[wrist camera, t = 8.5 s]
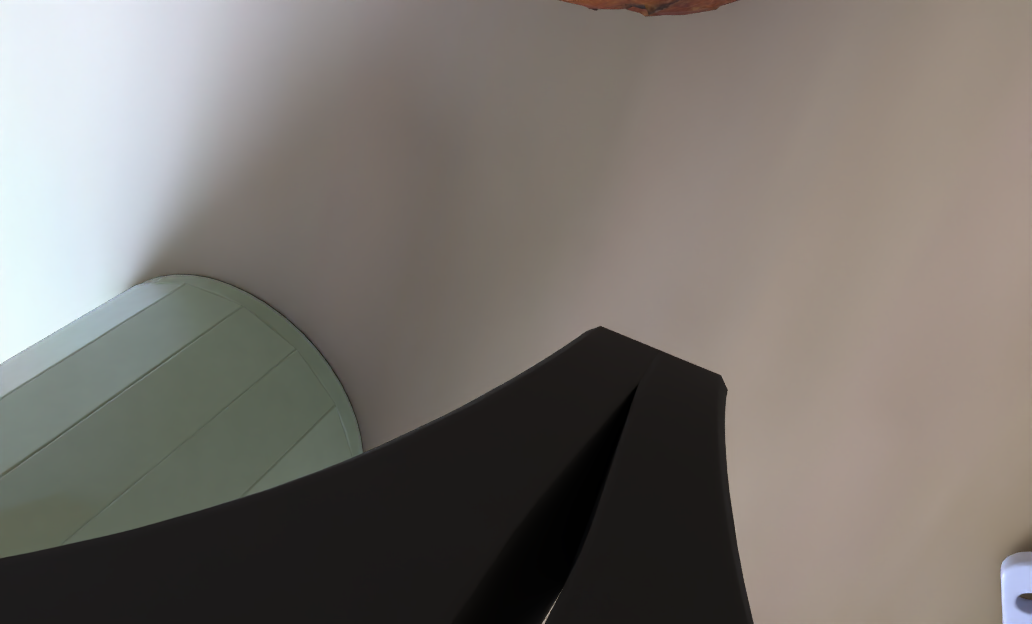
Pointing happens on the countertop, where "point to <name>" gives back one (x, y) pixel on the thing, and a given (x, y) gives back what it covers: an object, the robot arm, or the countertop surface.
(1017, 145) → the countertop surface
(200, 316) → the green mug
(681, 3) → the bread roll
